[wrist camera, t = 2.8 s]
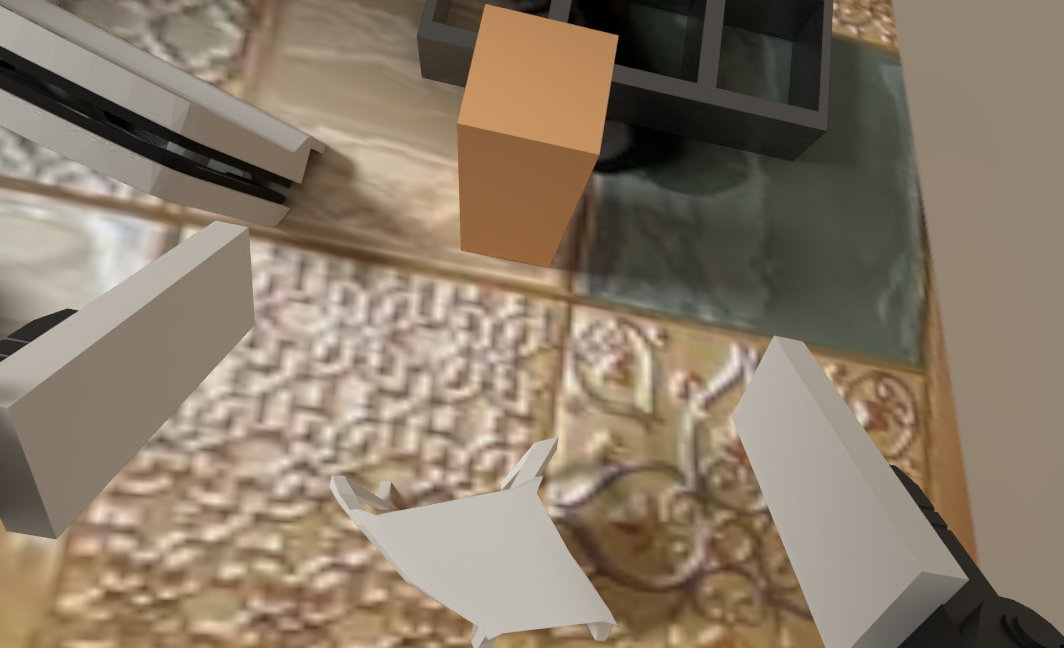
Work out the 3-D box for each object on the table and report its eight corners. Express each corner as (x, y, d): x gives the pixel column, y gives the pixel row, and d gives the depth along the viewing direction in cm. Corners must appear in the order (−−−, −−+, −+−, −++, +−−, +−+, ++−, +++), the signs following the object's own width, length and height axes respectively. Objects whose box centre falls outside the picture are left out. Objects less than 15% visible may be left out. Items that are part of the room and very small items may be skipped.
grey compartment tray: (422, 77, 29) (417, 35, 27) (456, -56, 32) (455, -108, 29) (793, 161, 31) (826, 130, 28) (801, 28, 33) (833, -13, 30)
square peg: (548, 268, 28) (599, 154, 17) (461, 250, 28) (457, 123, 17) (562, 188, 29) (618, 35, 18) (478, 170, 29) (485, 3, 18)
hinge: (333, 148, 28) (211, 76, 18) (295, 232, 28) (154, 208, 18) (41, -2, 28) (-243, -157, 18) (6, 85, 28) (-289, -20, 18)
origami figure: (610, 445, 26) (641, 444, 22) (595, 638, 24) (626, 683, 20) (355, 415, 25) (329, 406, 21) (318, 613, 23) (279, 655, 19)
